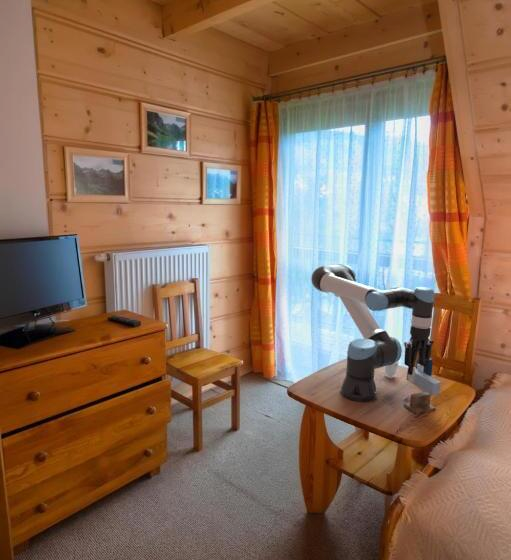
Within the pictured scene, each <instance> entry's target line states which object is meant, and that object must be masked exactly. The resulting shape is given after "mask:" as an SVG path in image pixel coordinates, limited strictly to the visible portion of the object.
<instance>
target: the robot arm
mask: <svg viewBox="0 0 511 560" xmlns="http://www.w3.org/2000/svg"><path fill="white" fill-rule="evenodd" d="M310 279H311V283H312V286H313V287H314V288H315V289H316V290H317V291H319V292H322V293H325V294H329V293H332V294H334V296H335V297H338V298H339V299H340V301H341V302H342V304H343V306H344V307H345V308H346V311H347V312H348V313H349V315H350V317H351V318H352V320H353V322H354V324H355V326H356V327H357V329H358V331H359V332H360V334H361V336H362V338H356V339H353V340H352V341H350V342H349V344H348V348H347V352H346V353H347V355H346V367H345V368H346V370H345V376H344V379H343V382H342V384H341V387H340V394H341V395H342V396H343V397H344V398H346V399H348V400H350V401H353V402H359V403H360V402H362V403H363V402H372V401H374V400H375V399H376V398H377V397H378V396H377V395H378V391H377V390H378V389H377V387H376V383H375V370H377V369H379V368H380V369H381V368H383V367H384V366H389V365H392V364H394V363H396V362H398V361H400V359H401V357H402V353H403V348H402V344H401V343H400V341H399V340H398V339H397V338H396V337H392V336H390V335H389V333H388V332H387V330H385V329H381V327H380V325H379V324H378V322H377V320H376V318H374V316H373V314H372V312H371V311H373V312H375V311H376V312H379V311H380V312H381V311H383V310H389V309H395V308H396V309H397V308H400V307H403V308H407V309H409V310H410V309H411V321H410V324H411V325H410V329H409V334H410V338H409V341H405V342H404V343H403V346H404V362H403V363H404V364H403V365H405V366H407V367H408V368H407V371H408V380H407V382H409V381H410V383H411V384H412V383H414V379H415V369H416V362H417V358H419V364H417V369H418V370H420V371H421V372H423V373H424V367H426V366H427V364H429V361H430V357H431V354H432V348H433V347H432V346H433V345H434V342H435V341H434V340H432V339H430V338H429V337H430V336H431V331H432V330H431V329H432V328H431V327H432V321H433V311H434V310H433V309H434V303H435V289H433V288H431V287H427V286H426V287H425V286H417V287H415V288H414V289H410V288H405V287H402V286H397V285H396V286H395V285H394V286H391V287H390V288H389V289H385V290H384V289H383V290H381V289H378V288H375V287H371V286H367V285H364V284H362V283H359V282H356V281H357V274H356V272H355V270H354V269H353V267H352V266H350V265H347V264H336V265H335V264H334V265H323V266H319V267H317V268H316V269H314V271H313V272H312V274H311V278H310ZM426 359H427V360H426Z"/></svg>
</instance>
